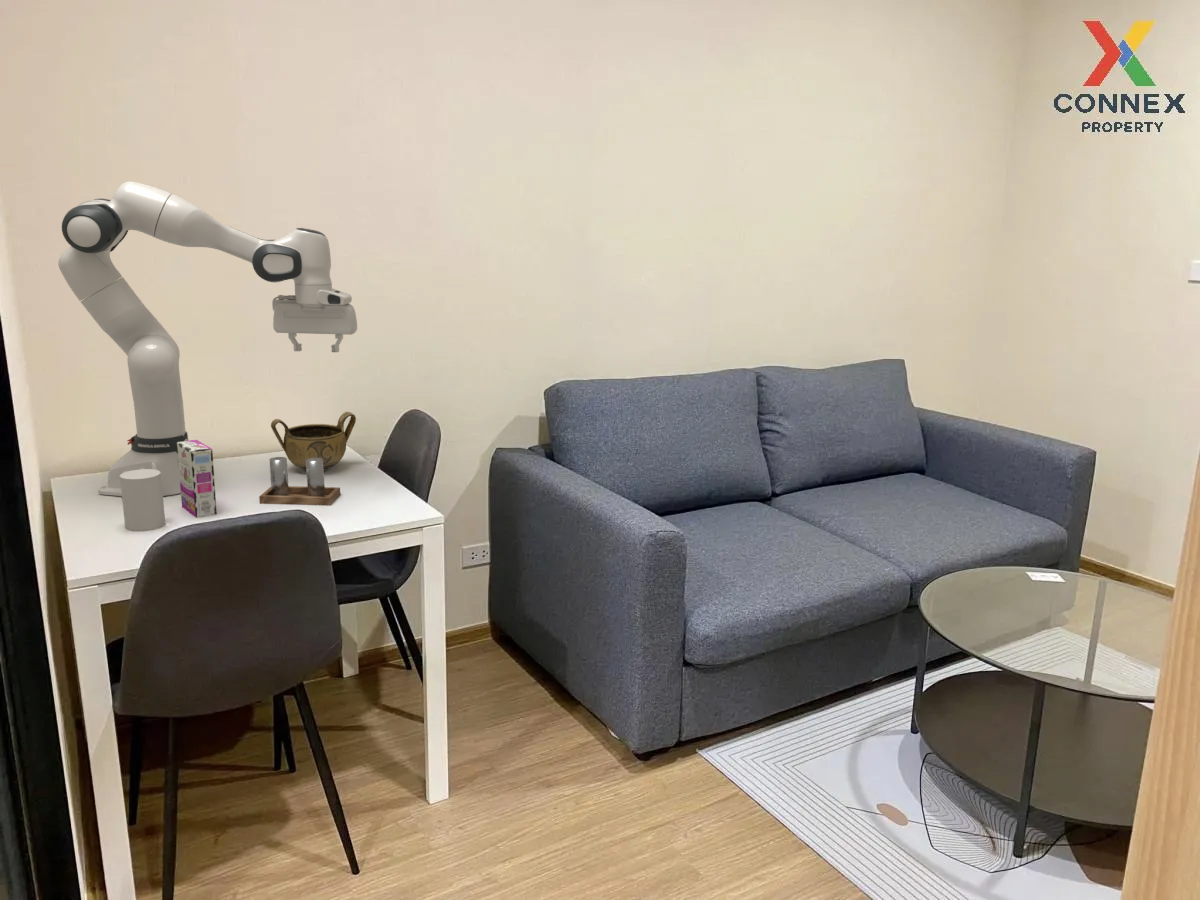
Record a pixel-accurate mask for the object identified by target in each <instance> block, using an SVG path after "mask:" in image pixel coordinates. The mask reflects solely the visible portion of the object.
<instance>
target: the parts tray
mask: <svg viewBox="0 0 1200 900" xmlns="http://www.w3.org/2000/svg"><path fill="white" fill-rule="evenodd" d="M288 487H289V496H275V495H272V492H271V486H270V487H269V488H268V489H266V490H265V491H264V492H263V493H262V494H260V495H259V496H258V497H259V498H258V499H259V504H261V505H262V504H263V505H291V506H292V505H295V506H298V505H299V506H326V507H327V506H328V507H329V506H331V505H332V504H333V503H334V502H335V501H336V500H337V499H338V498H339V497H340V496H341V487H336V486H335V487H333V486H332V487H331V486H325V497H312V496H308V487H307V486H297V485H292V486H291V485H288Z"/></svg>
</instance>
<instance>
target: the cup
mask: <svg viewBox="0 0 1200 900" xmlns="http://www.w3.org/2000/svg"><path fill="white" fill-rule="evenodd" d="M120 483H121V492H122V496H121V499H122V508H123V509H122V510H123V518H124V528H125V530H127V531H130V532H147V531H153V530H154V531H155V530H157V529H160V528H163V527H164V526H165V525H166V517H165V506H164V496H163V493H162V483H161V472H160V471H158V470H154V469H139V470H132V471H128V472H124V473H122V474H121V475H120Z"/></svg>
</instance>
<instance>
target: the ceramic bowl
mask: <svg viewBox="0 0 1200 900" xmlns="http://www.w3.org/2000/svg"><path fill="white" fill-rule="evenodd" d="M348 417H350V418H349V421H348V424H347V425H346V427H345V426H344V424H345V422H346V420H347V419H348ZM356 421H357V417H356V415H355V413H353V412H350V411H345V412H343V413H342V414H340V417H339V419H338V420H337V425H335V424H325V423H312V424H309V423H308V424H299V425H295V426H292V427H289V426H288V425H287V424H286V422H284V421H283V420H281V419H280V418H275V419H273V420H272V421H271V424H270V427H271V431H273V434H274V435H275V438H276V439H277V440H278V442H279V444H280V446H281V448H282V450H283V451H284V453H285V455H286V458H287V460H289V461H290V463H292V465H294V466H296V468H299V469H301V470H304V471H306V460H307V459H310V458H322V459H323V470H324V471H326V470H328V469H331V468H332V467H334V466H335V465H337V464H339V462H340V461H341V460H342V459H343V457H344V456H345V453H346V450H347V442H348V441H349V438H350V437H351V433H352V432H353V429H354V427H355V424H356ZM279 423H280V424H281V425H282V426H283V427H284V435H283V436H284V437H283V439H282V437H281V435H280V433H279V431H278V430H277V425H278V424H279Z"/></svg>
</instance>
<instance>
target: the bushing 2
mask: <svg viewBox="0 0 1200 900" xmlns="http://www.w3.org/2000/svg"><path fill="white" fill-rule="evenodd" d="M324 471H325V470H323V459H322V458H310V459H307V460H306V470H305V472H306V485H307V486H306V487H308V496H312V497H325V487H326V486H325V472H324Z"/></svg>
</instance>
